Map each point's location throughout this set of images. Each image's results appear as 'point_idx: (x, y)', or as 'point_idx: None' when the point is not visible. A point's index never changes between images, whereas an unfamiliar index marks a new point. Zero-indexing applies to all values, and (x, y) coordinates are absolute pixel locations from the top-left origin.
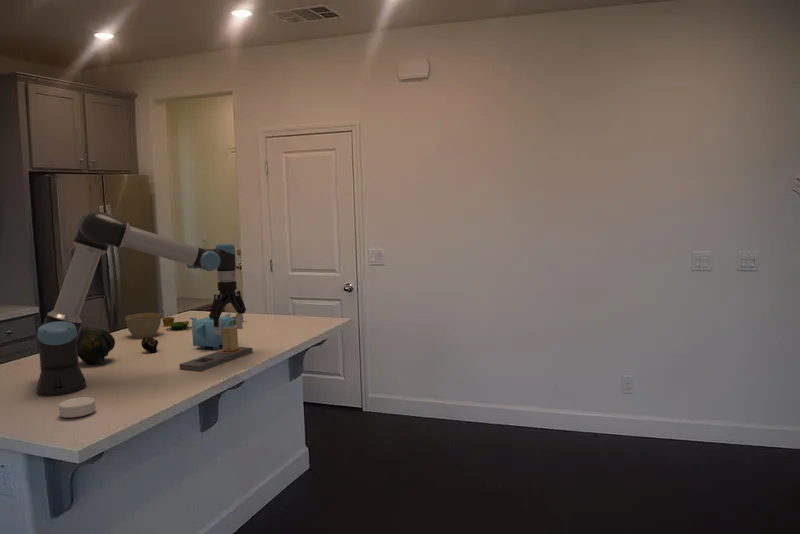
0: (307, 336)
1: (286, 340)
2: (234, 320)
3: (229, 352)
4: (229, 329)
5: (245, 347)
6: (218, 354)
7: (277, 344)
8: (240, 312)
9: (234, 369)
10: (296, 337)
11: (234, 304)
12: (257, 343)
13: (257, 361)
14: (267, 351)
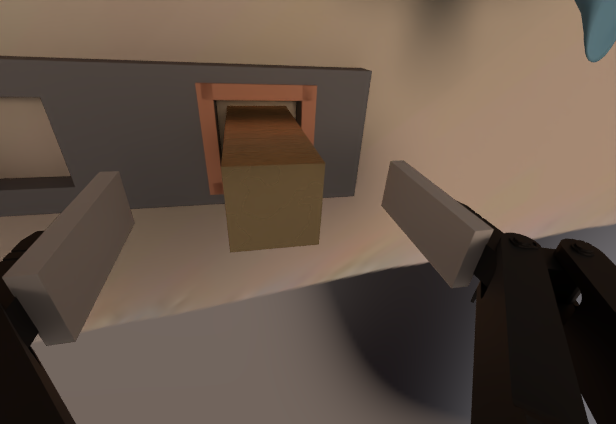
0: (609, 207)
1: (559, 177)
2: (585, 35)
3: (218, 170)
4: (230, 241)
5: (354, 160)
6: (164, 129)
7: (491, 188)
8: (482, 279)
9: None
10: (605, 180)
11: (485, 405)
12: (525, 84)
13: (222, 291)
14: (373, 227)
